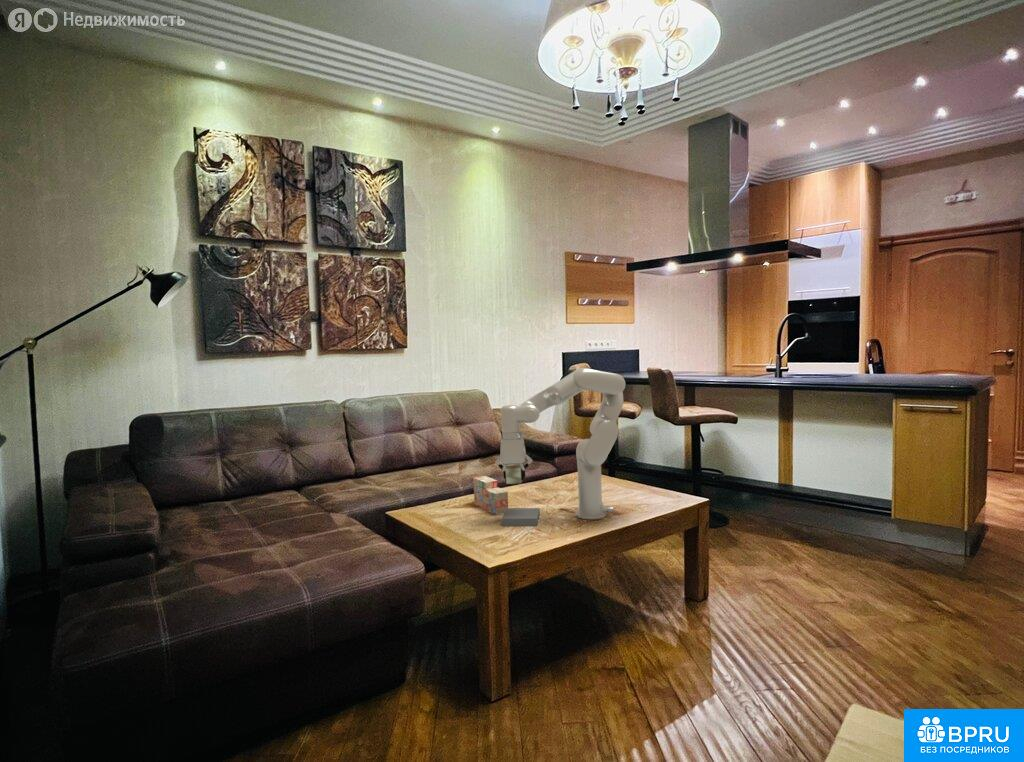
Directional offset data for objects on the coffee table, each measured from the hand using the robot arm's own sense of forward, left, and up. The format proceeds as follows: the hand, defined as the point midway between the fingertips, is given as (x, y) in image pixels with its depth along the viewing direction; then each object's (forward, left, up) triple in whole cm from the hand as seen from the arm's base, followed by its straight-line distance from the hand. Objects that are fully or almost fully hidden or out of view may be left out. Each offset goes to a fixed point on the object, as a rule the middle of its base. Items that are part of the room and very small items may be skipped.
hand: (514, 479), depth 222 cm
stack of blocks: (+13, -17, -17) cm, 28 cm away
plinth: (-2, 0, -17) cm, 17 cm away
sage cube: (0, 0, -1) cm, 1 cm away
